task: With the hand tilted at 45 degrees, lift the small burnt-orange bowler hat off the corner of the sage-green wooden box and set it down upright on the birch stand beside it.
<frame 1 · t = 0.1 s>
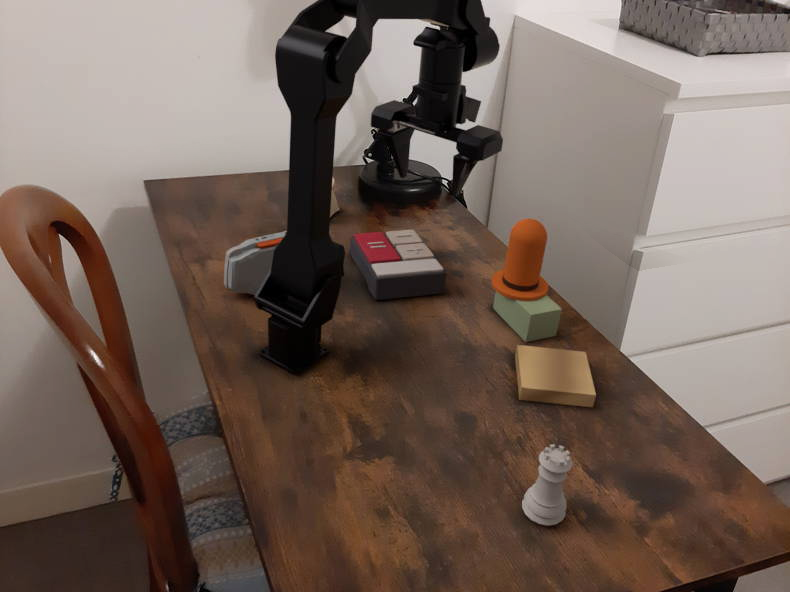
hand: (429, 186, 109), 15 cm above the table, tool pointing down, fingers open, 9 cm apart
stand: (552, 381, 96), on the table
hat: (519, 286, 107), point 5 cm above the table, touching sage box
rook chess piece: (542, 512, 77), on the table
handheld gaming console: (273, 287, 111), on the table
calculator: (395, 273, 117), on the table
sage box: (523, 321, 107), on the table
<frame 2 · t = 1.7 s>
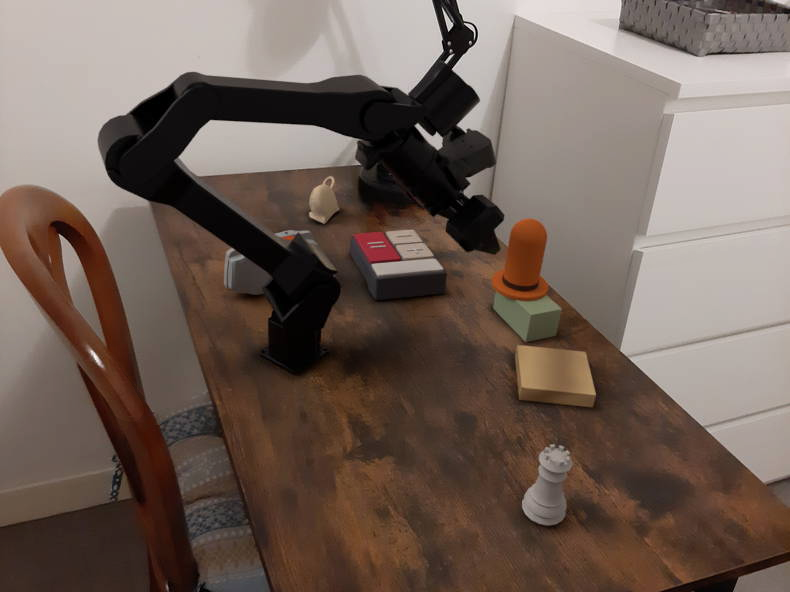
hand: (479, 235, 100), 13 cm above the table, tool tilted 45°, fingers open, 9 cm apart
nothing on the table moved.
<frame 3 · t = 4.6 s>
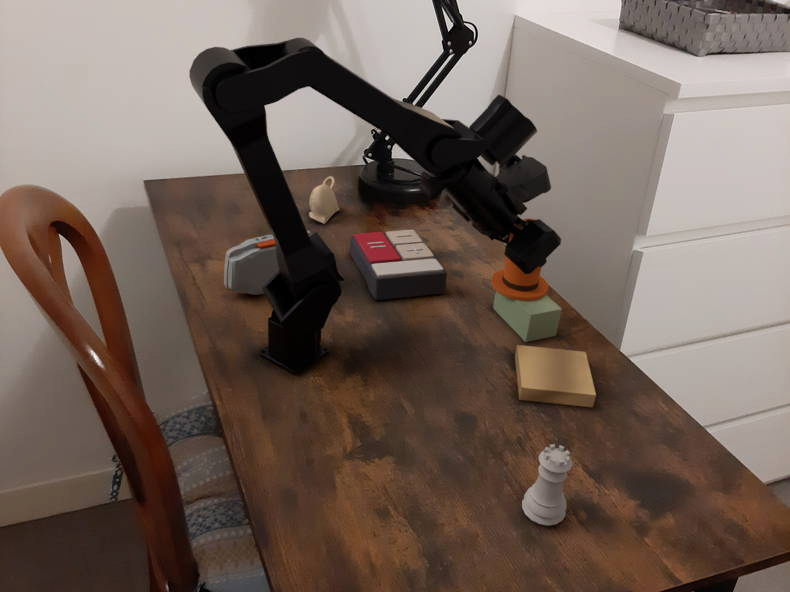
hand: (533, 255, 105), 9 cm above the table, tool tilted 45°, fingers closed on hat, 5 cm apart
hat: (519, 286, 107), point 5 cm above the table, touching gripper, sage box
everything else where it was.
when the fingers open (7 cm above the table, at t = 11.4 s): hat stays where it is, resting on stand.
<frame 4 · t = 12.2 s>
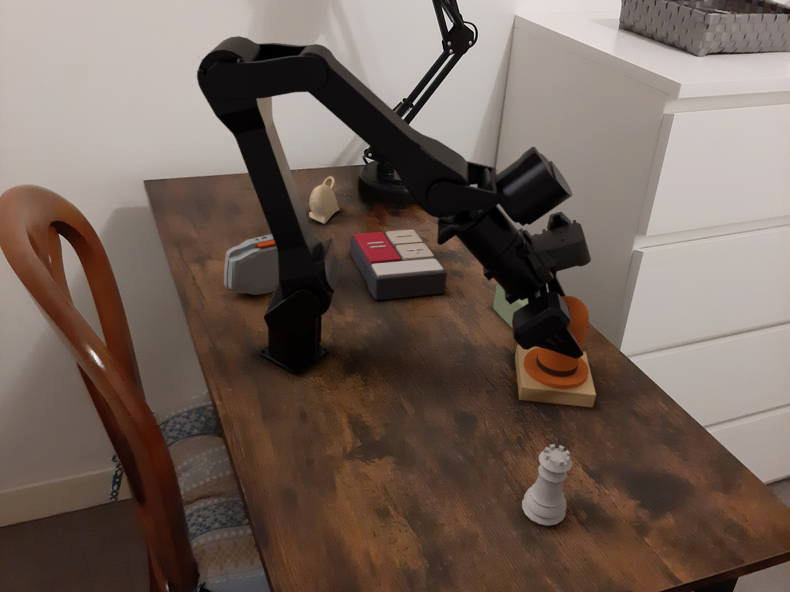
hand: (574, 334, 92), 7 cm above the table, tool tilted 45°, fingers open, 9 cm apart
hat: (555, 368, 95), point 2 cm above the table, touching stand
everything else where it was.
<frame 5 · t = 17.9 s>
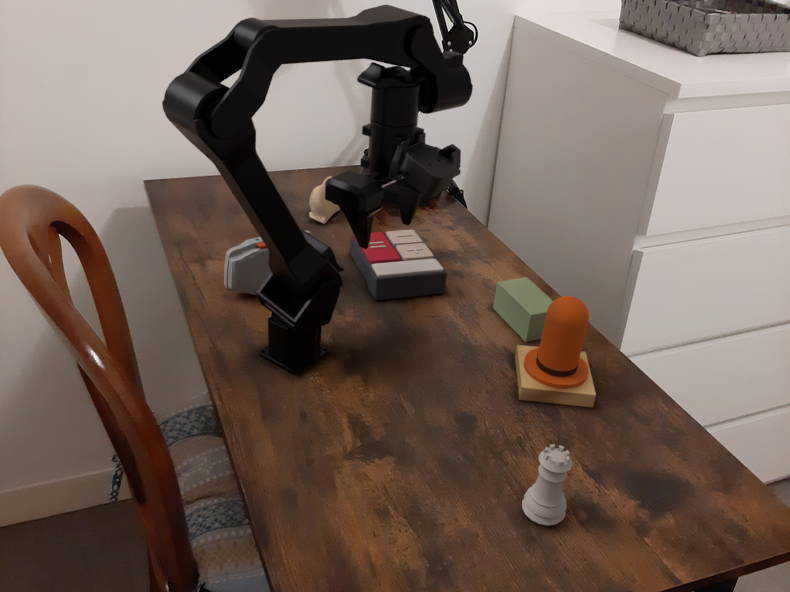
hand: (385, 235, 98), 13 cm above the table, tool pointing down, fingers open, 9 cm apart
nothing on the table moved.
at the end: hat 0.1 cm off-centre on the stand, point 2.0 cm above the stand's base; hat tilted 0°; the gripper is holding nothing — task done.
